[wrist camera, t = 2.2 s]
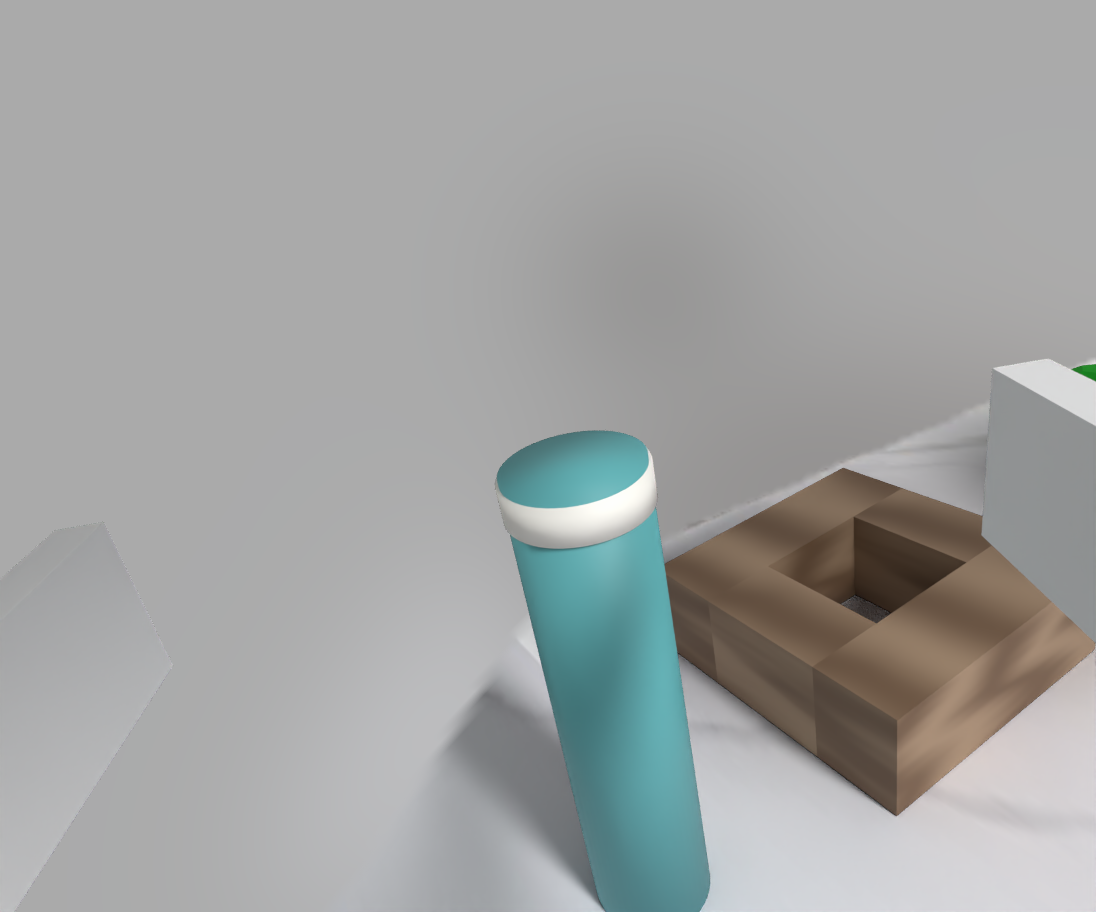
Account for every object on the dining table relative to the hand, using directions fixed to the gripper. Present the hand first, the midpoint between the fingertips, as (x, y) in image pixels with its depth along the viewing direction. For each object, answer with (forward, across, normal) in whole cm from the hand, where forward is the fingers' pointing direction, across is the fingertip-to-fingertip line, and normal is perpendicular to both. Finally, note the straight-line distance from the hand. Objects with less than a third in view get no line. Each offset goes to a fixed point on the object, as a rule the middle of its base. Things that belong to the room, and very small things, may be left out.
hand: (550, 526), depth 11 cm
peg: (+10, 0, -22) cm, 24 cm away
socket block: (+21, +13, -22) cm, 32 cm away
